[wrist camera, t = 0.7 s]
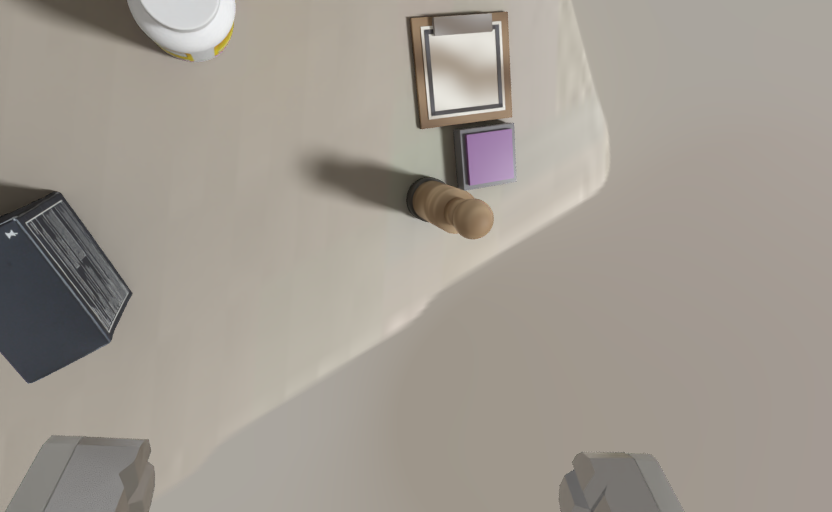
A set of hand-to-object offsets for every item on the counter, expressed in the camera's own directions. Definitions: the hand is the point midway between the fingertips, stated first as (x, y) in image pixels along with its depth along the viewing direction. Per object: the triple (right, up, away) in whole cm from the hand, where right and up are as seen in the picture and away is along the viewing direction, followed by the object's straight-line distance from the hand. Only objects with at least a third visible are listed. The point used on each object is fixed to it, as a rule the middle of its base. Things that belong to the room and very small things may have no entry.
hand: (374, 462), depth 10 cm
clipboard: (+5, +22, +42) cm, 48 cm away
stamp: (+2, +10, +44) cm, 45 cm away
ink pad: (+8, +14, +45) cm, 48 cm away
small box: (-29, +3, +35) cm, 45 cm away
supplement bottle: (-18, +23, +33) cm, 44 cm away
